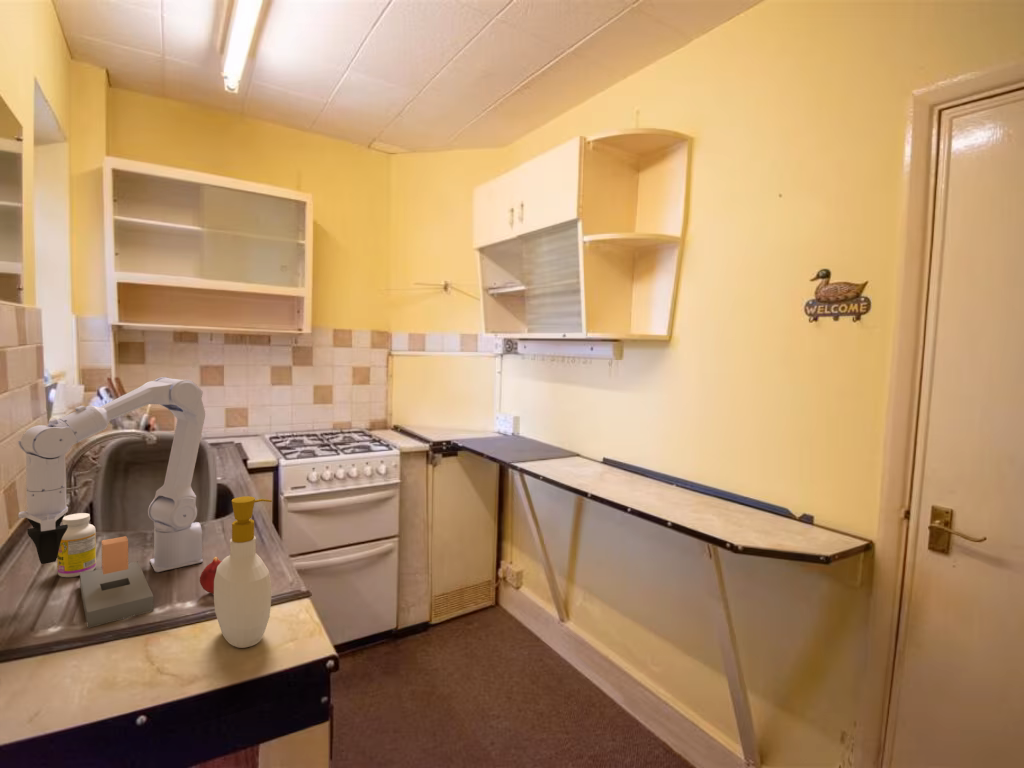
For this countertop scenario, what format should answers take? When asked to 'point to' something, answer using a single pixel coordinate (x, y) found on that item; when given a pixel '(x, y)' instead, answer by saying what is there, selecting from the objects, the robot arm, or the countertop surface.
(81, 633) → the countertop surface
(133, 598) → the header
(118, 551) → the plug
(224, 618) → the soap bottle
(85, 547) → the supplement bottle
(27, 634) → the countertop surface
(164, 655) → the countertop surface
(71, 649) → the countertop surface
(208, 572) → the onion
